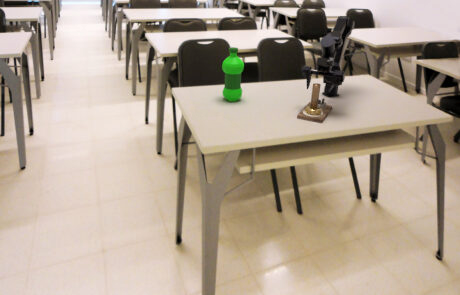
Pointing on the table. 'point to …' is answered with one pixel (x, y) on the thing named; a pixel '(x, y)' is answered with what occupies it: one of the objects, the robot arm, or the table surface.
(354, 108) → the table surface
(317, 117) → the gear board
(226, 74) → the plastic bottle
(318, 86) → the brass gear
